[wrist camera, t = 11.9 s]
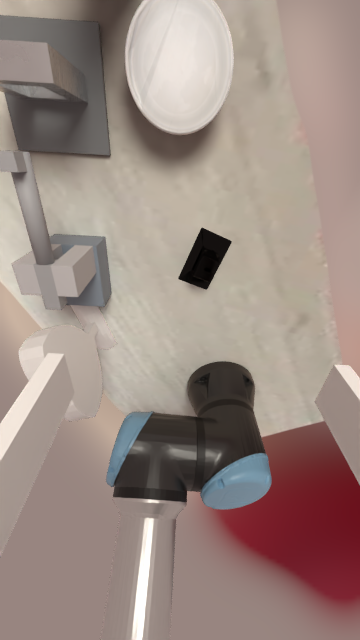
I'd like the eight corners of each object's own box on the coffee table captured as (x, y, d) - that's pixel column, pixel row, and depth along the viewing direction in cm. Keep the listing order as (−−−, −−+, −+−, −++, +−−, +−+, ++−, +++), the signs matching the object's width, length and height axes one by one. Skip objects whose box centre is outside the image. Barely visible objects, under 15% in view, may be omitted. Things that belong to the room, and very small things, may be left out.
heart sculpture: (62, 292, 46) (3, 359, 30) (87, 286, 45) (39, 351, 30) (99, 355, 54) (67, 432, 39) (121, 350, 53) (97, 427, 38)
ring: (88, 103, 31) (53, 83, 22) (22, 99, 30) (-38, 77, 22) (85, 75, 29) (46, 42, 21) (16, 70, 29) (-51, 36, 21)
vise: (111, 292, 45) (86, 341, 34) (67, 290, 45) (26, 338, 33) (95, 154, 34) (49, 153, 22) (36, 150, 34) (-43, 148, 22)
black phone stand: (206, 296, 46) (209, 309, 43) (170, 282, 45) (169, 294, 41) (240, 233, 40) (247, 241, 36) (199, 214, 39) (202, 220, 35)
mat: (110, 155, 34) (109, 155, 33) (21, 150, 34) (18, 149, 33) (99, 24, 27) (97, 22, 27) (-12, 16, 27) (-16, 14, 27)
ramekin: (124, 14, 27) (113, -14, 23) (228, 3, 27) (237, -27, 22) (140, 140, 33) (134, 138, 29) (224, 133, 33) (231, 130, 28)
